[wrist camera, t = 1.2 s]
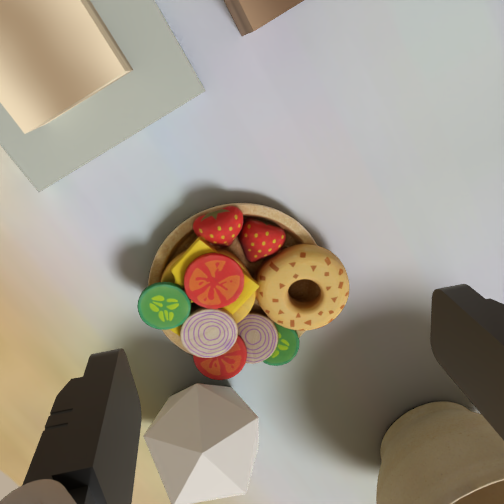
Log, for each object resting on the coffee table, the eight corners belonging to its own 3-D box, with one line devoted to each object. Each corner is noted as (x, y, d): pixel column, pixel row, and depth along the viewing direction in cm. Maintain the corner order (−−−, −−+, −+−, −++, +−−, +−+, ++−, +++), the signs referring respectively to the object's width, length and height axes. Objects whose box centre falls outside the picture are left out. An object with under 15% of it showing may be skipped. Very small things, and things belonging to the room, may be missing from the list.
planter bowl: (321, 494, 43) (362, 621, 34) (383, 357, 38) (455, 461, 28) (461, 505, 47) (535, 624, 37) (536, 382, 42) (647, 483, 32)
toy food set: (358, 271, 35) (375, 291, 32) (246, 384, 37) (251, 412, 34) (228, 159, 30) (233, 170, 27) (109, 298, 33) (102, 322, 30)
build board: (81, -129, 23) (77, -136, 22) (204, 89, 28) (205, 91, 27) (-109, -2, 24) (-120, -4, 23) (43, 188, 29) (38, 192, 28)
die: (153, 445, 39) (221, 542, 34) (101, 422, 32) (177, 540, 27) (222, 376, 41) (297, 458, 35) (187, 340, 34) (274, 436, 28)
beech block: (65, -39, 23) (44, -57, 20) (133, 69, 26) (125, 71, 22) (-29, 22, 24) (-67, 16, 20) (46, 123, 26) (24, 134, 23)
